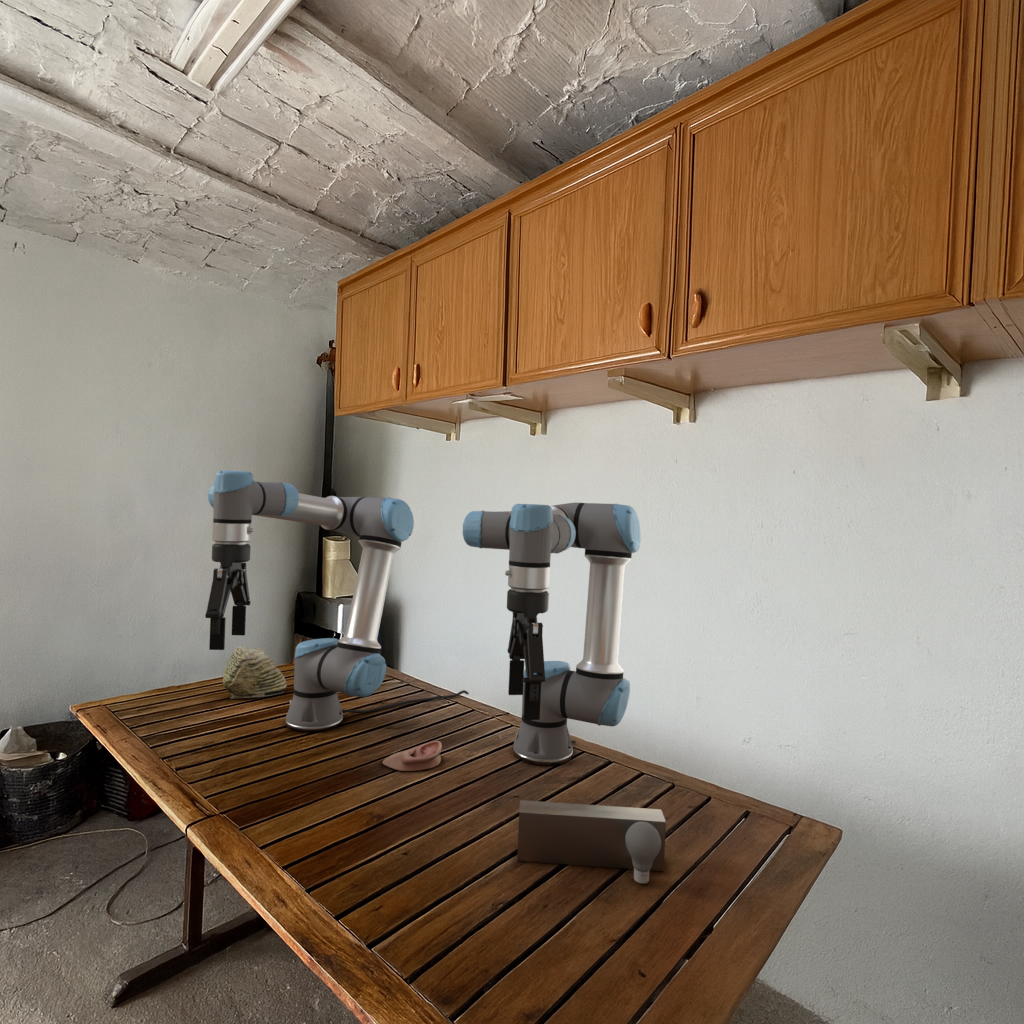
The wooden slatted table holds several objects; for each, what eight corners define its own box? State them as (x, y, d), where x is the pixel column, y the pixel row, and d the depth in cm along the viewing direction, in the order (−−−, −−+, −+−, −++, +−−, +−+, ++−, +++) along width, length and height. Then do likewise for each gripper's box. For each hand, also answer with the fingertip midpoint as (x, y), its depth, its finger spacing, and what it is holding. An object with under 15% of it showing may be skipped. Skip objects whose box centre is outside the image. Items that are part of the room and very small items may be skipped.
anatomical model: (377, 751, 149) (396, 733, 160) (377, 767, 149) (395, 749, 160) (431, 758, 146) (446, 740, 157) (430, 775, 146) (445, 756, 157)
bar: (659, 857, 116) (661, 809, 116) (663, 871, 112) (666, 821, 112) (518, 847, 118) (520, 799, 118) (517, 861, 113) (519, 811, 113)
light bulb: (619, 871, 111) (622, 814, 111) (652, 871, 112) (655, 814, 111) (628, 892, 105) (631, 832, 105) (663, 892, 106) (666, 832, 105)
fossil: (218, 695, 195) (220, 647, 195) (278, 685, 208) (279, 640, 207) (228, 703, 189) (230, 653, 188) (289, 692, 201) (290, 645, 201)
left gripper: (230, 548, 123) (226, 656, 123) (266, 539, 148) (262, 630, 148) (190, 546, 122) (186, 656, 123) (232, 538, 147) (229, 629, 147)
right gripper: (496, 579, 126) (491, 686, 126) (522, 600, 101) (516, 732, 102) (532, 580, 127) (528, 685, 128) (567, 600, 103) (561, 730, 103)
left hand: (228, 642), depth 135 cm, fingers open, 13 cm apart
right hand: (523, 706), depth 115 cm, fingers open, 13 cm apart
